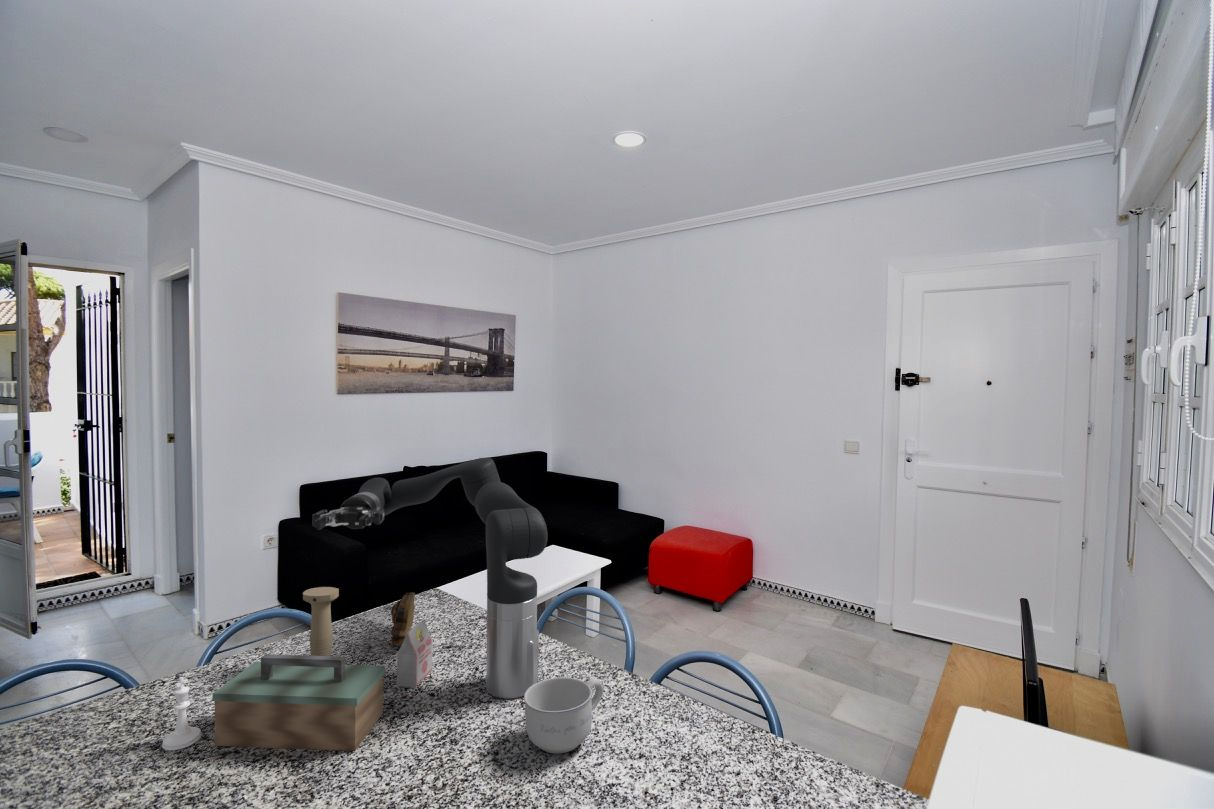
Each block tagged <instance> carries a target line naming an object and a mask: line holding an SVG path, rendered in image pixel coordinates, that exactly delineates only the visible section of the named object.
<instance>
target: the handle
mask: <svg viewBox="0 0 1214 809" xmlns="http://www.w3.org/2000/svg"><path fill="white" fill-rule="evenodd" d="M339 590H340V589H339V588H336V587H333V586H318V587H313V588H309V589H308V588H307V589H306V590H304V591H303V592H302V600H303V601H305V602H306V603H308V604H310V606H311V616H310V617H311V618H310V632H309V648H310V649H309V650H310V656H332V651H333V650H332V649H333V626H332V625H333V624H332V613H331V612H332V610H331V606H332V604H331V603H332V602H333V601H335V600H336V599H338V597H339V596H340V594H339V592H340V591H339Z"/></svg>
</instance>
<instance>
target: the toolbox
mask: <svg viewBox="0 0 1214 809" xmlns="http://www.w3.org/2000/svg"><path fill="white" fill-rule="evenodd" d="M385 674H386V665H367V664H365V665H364V664H346V656H340V655H339V656H335V655H331V656H311V655H303V654H301V655H300V654H276V653H275V654H270V653H269V654H267V653H265V654H264V655H263V656H261V657H260V661H253V663H252V664H250V665H249V666H248V667H246V668H244V669H243V671H241V672H240V673H238V674H237V675H235V676H234V677H232V678H231V679H230V680H229V681H227V682H226V683H225V684H223V685H222V686H221V687H219V688H218V689H217V690H215V691H214V692H212V702H214V746H216V747H242V748H266V749H267V748H269V749H296V750H297V749H298V750H320V751H322V750H323V751H324V750H326V751H348V752H349V751H351V752H356V751H357V749H358V748H359V746H360V745H361V744H362V743H363V741H364V739H365V738H366V737H367V735H368V734H369V733H370V732H371V730H372V729H373V727H375V725H376V724H377V722H378V721H379V719H380V718H381V717H382V715H383V714H384V675H385Z"/></svg>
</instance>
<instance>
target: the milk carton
mask: <svg viewBox="0 0 1214 809" xmlns="http://www.w3.org/2000/svg"><path fill="white" fill-rule="evenodd" d="M433 644H434V643H433V638H432V636H431V633H430V632H429V628H428V626H427V623H426V619H422V620H420V621H419V622H418V623H417V624H416V625H414V626H412V627H411V630H410V631H409V632H407V633H406V635H405V639H404V641H403V644H402V645H400V648H399V650H398V652H397V654H396V687H404V688H406V687H407V688H414V687H415V688H417V687H418V686H419V685H420V684H421V682H422V681H424V679H425V678H427V677H428V675H429V674H430V673H431V672H433V646H434V645H433ZM418 684H419V685H418ZM417 685H418V686H417ZM416 686H417V687H416ZM415 688H414V689H415Z"/></svg>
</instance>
